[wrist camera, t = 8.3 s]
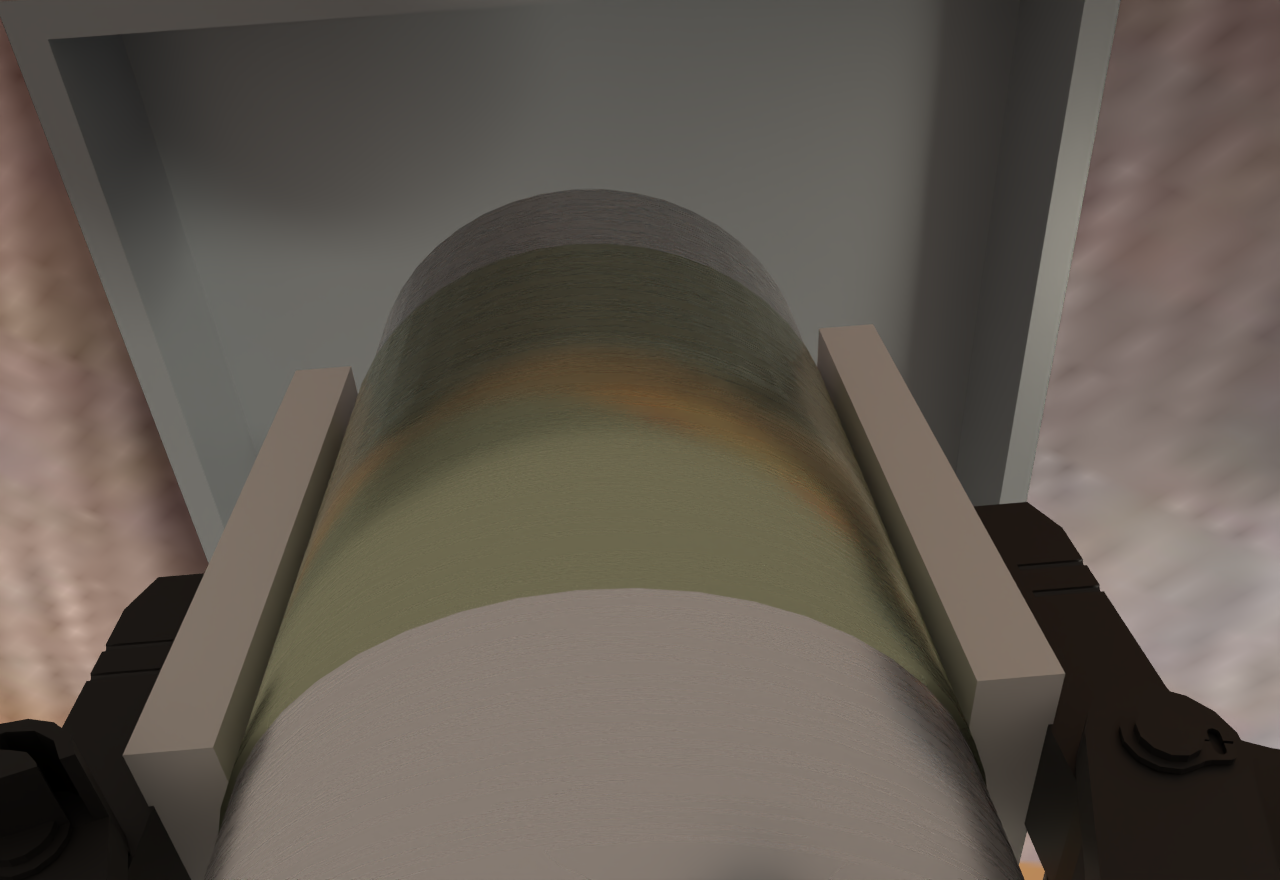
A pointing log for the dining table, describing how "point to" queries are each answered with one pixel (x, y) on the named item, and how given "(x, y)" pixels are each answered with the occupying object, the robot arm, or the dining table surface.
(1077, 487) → the dining table surface
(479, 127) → the tray
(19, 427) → the dining table surface
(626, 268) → the tin can
